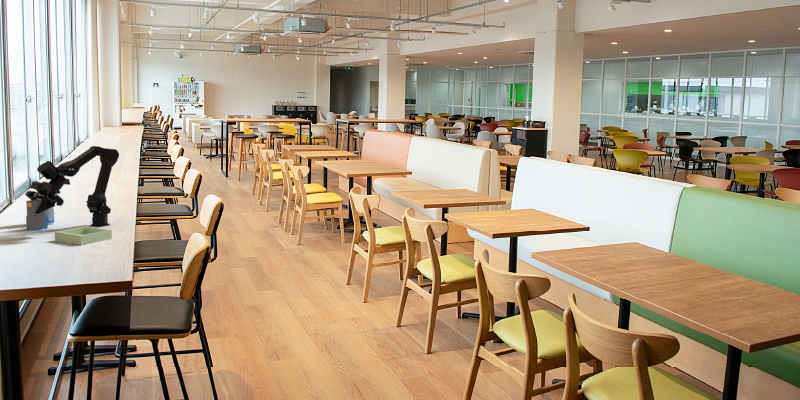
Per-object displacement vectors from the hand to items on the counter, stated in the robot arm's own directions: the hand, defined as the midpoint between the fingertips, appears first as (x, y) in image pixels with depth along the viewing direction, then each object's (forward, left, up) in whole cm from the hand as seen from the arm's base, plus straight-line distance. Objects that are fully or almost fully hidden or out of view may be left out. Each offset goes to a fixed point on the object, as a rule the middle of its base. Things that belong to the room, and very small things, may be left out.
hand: (32, 212), depth 267 cm
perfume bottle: (-13, -16, -11) cm, 24 cm away
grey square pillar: (-1, 0, -7) cm, 7 cm away
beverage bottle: (-23, -24, -11) cm, 35 cm away
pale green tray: (-8, +21, -11) cm, 25 cm away
